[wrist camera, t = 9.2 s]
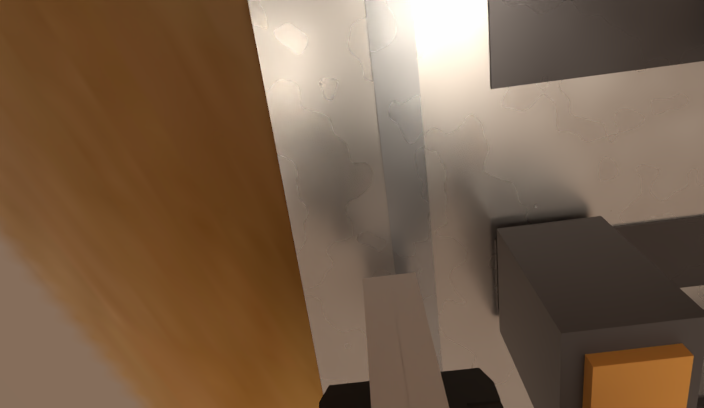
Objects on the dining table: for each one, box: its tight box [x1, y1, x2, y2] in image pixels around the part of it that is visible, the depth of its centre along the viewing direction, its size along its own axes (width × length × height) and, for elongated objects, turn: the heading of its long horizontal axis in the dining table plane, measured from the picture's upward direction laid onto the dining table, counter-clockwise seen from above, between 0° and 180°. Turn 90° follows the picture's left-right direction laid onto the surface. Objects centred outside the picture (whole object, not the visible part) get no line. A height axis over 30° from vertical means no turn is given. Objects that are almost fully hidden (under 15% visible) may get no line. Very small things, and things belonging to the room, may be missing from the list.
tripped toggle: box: [497, 216, 704, 408], centre depth 14 cm, size 4×3×5 cm
